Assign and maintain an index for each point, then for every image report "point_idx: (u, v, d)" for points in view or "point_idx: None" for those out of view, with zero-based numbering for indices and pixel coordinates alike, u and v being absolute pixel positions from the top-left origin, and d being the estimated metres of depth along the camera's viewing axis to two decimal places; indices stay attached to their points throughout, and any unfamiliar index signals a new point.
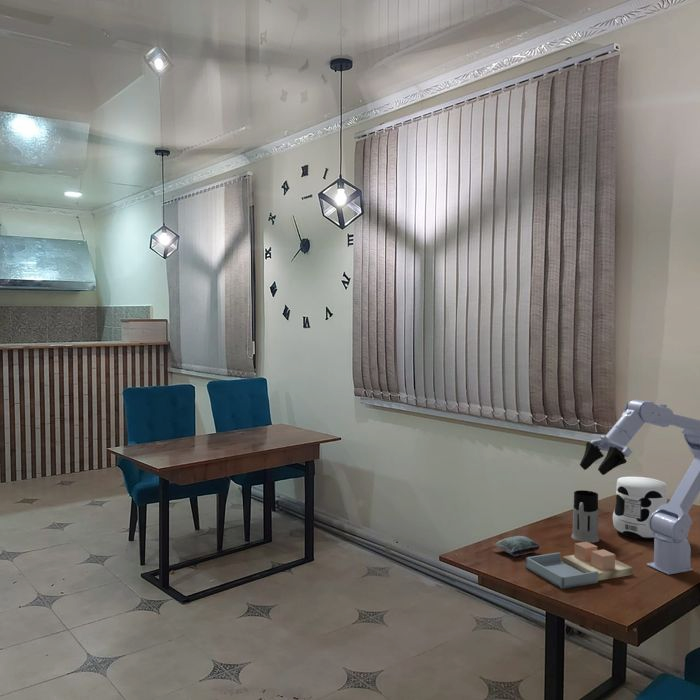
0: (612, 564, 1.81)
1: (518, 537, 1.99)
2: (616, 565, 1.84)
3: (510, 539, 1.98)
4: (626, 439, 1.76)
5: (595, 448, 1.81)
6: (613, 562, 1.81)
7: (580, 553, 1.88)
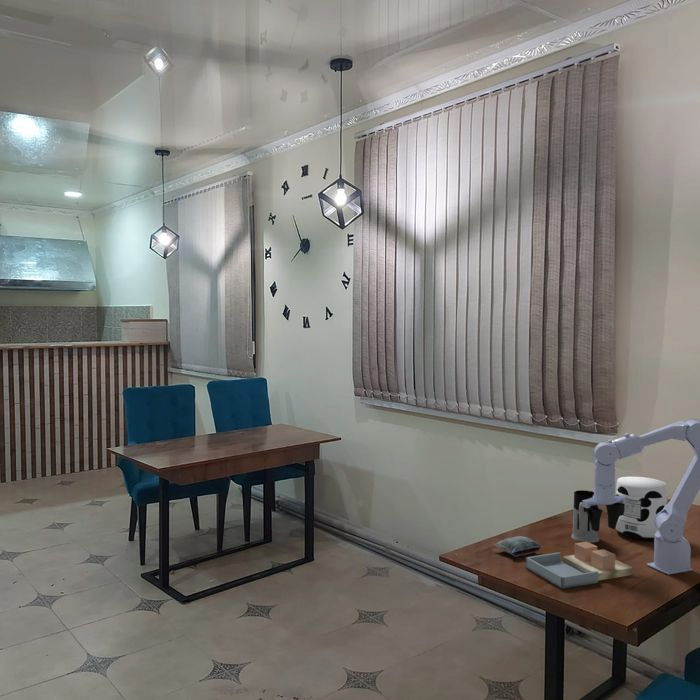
0: (612, 564, 1.81)
1: (519, 537, 1.99)
2: (616, 565, 1.84)
3: (511, 539, 1.98)
4: (597, 489, 1.89)
5: (610, 505, 1.93)
6: (613, 562, 1.81)
7: (580, 553, 1.88)
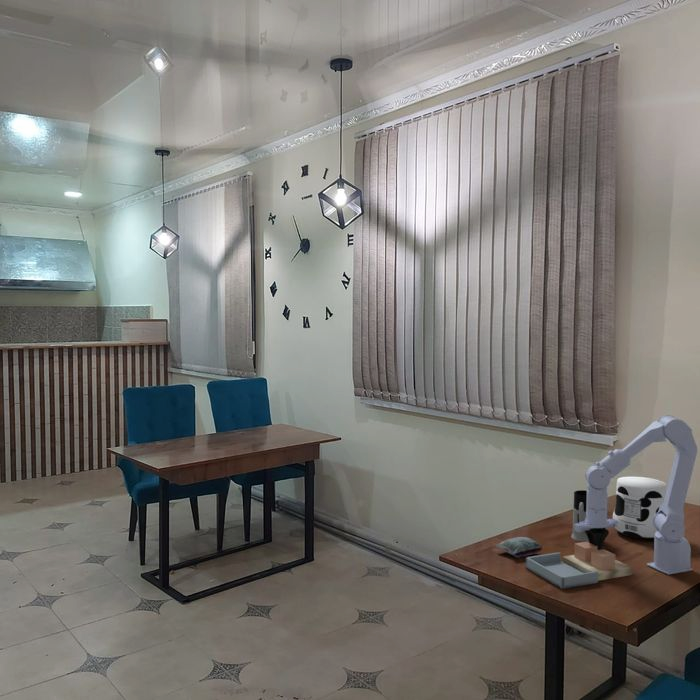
0: (612, 564, 1.81)
1: (521, 538, 1.98)
2: (616, 565, 1.84)
3: (513, 540, 1.97)
4: (590, 512, 1.88)
5: None
6: (613, 562, 1.81)
7: (580, 553, 1.88)
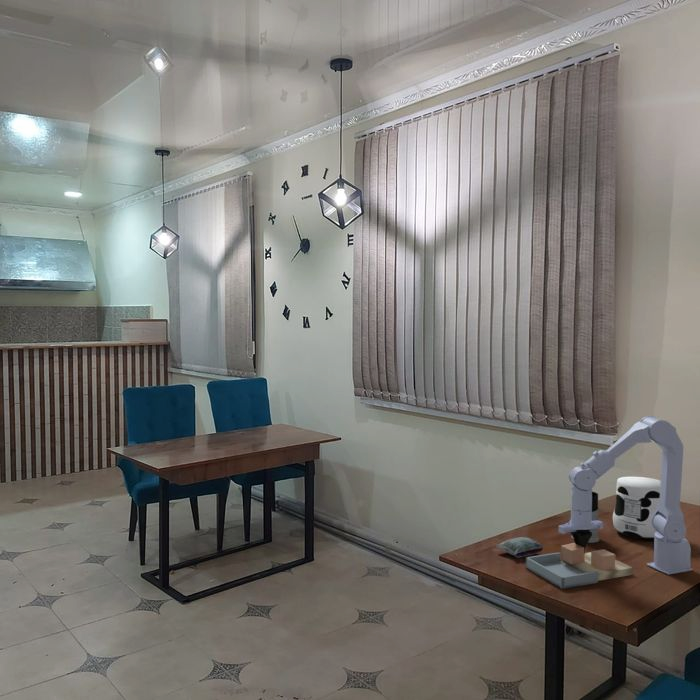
0: (612, 564, 1.81)
1: (521, 538, 1.98)
2: (616, 565, 1.84)
3: (513, 540, 1.97)
4: (574, 514, 1.86)
5: None
6: (613, 562, 1.81)
7: (567, 555, 1.86)
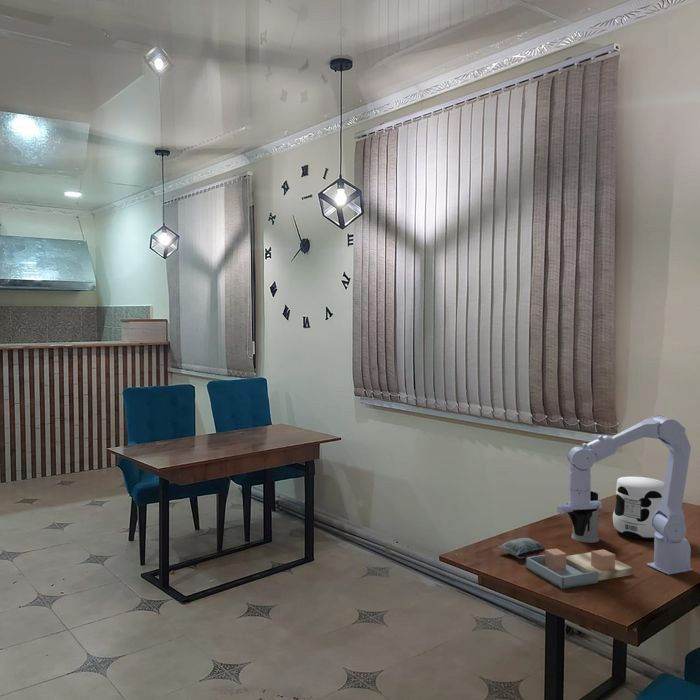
0: (612, 564, 1.81)
1: (523, 539, 1.97)
2: (616, 565, 1.84)
3: (515, 541, 1.96)
4: (573, 494, 1.86)
5: None
6: (613, 562, 1.81)
7: None
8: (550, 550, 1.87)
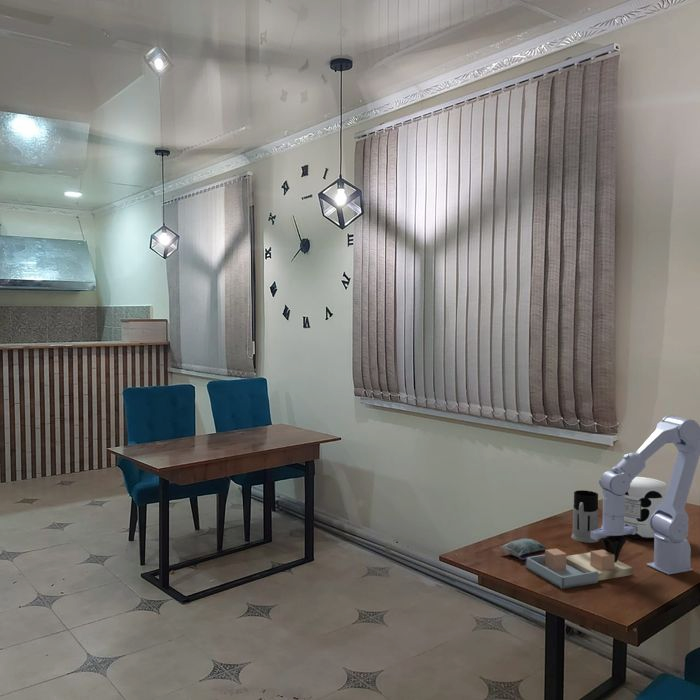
0: (611, 564, 1.81)
1: (525, 540, 1.97)
2: (616, 565, 1.84)
3: (517, 542, 1.95)
4: (606, 519, 1.82)
5: None
6: (612, 562, 1.81)
7: None
8: (550, 550, 1.87)
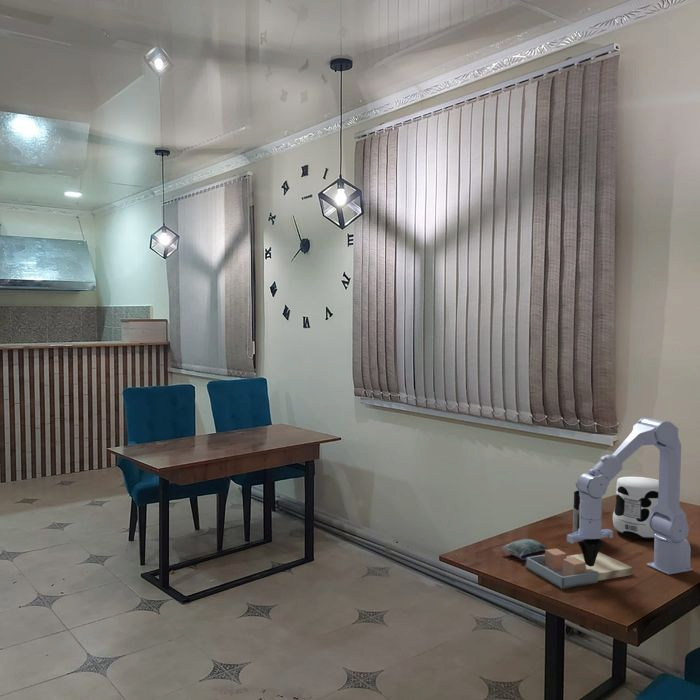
0: (582, 567, 1.77)
1: (526, 540, 1.96)
2: (616, 565, 1.84)
3: (518, 542, 1.95)
4: (583, 522, 1.79)
5: None
6: (580, 565, 1.77)
7: None
8: (550, 550, 1.87)
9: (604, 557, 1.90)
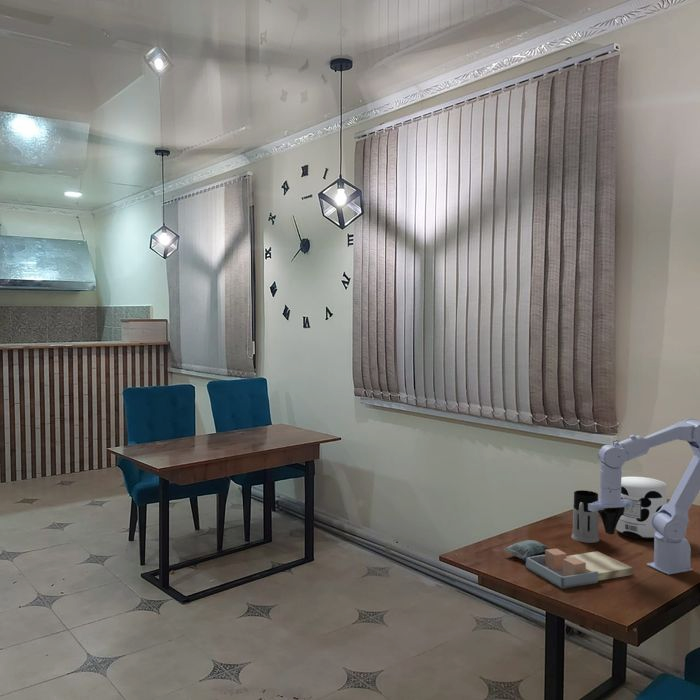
0: (582, 567, 1.77)
1: (529, 541, 1.95)
2: (616, 565, 1.84)
3: (521, 544, 1.94)
4: (603, 492, 1.86)
5: None
6: (580, 565, 1.77)
7: None
8: (550, 550, 1.87)
9: (604, 557, 1.90)
